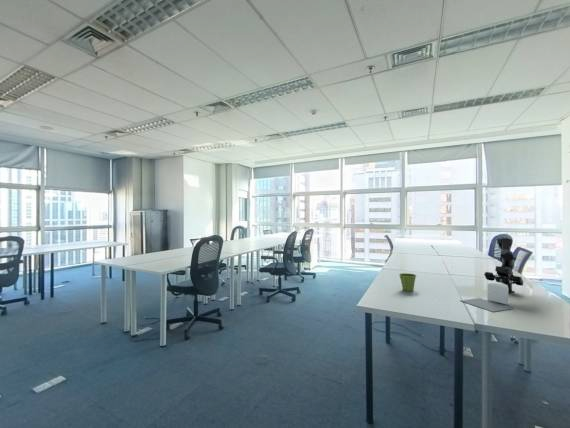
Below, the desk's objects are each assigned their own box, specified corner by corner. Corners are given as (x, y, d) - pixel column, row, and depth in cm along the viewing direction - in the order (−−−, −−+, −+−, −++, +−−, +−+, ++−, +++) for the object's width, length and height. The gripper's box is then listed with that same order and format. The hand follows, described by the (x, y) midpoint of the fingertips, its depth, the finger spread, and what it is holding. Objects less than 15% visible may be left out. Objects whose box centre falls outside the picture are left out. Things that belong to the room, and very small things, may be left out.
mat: (479, 298, 169) (479, 298, 169) (513, 308, 150) (513, 308, 150) (460, 301, 165) (460, 300, 165) (493, 312, 146) (493, 311, 146)
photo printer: (486, 300, 164) (486, 280, 164) (488, 299, 167) (488, 279, 167) (507, 305, 156) (508, 284, 156) (508, 303, 159) (509, 283, 159)
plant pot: (414, 288, 196) (414, 273, 196) (418, 292, 184) (418, 276, 184) (397, 287, 199) (397, 272, 199) (400, 292, 187) (400, 276, 187)
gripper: (485, 259, 174) (477, 278, 168) (521, 263, 158) (514, 284, 152) (490, 270, 178) (483, 288, 172) (526, 275, 162) (519, 295, 156)
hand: (499, 289), depth 163 cm, fingers closed
